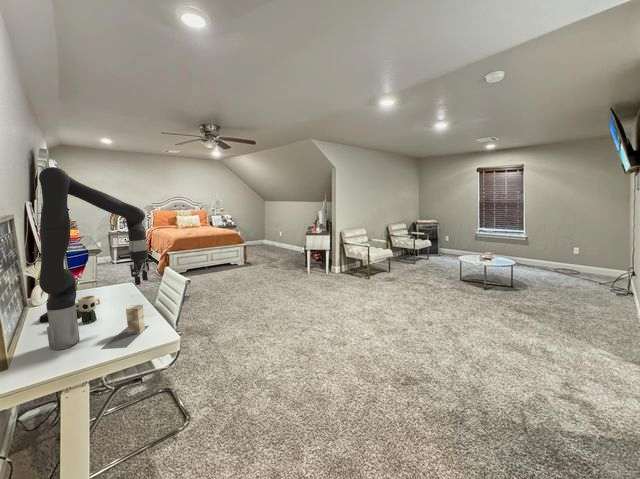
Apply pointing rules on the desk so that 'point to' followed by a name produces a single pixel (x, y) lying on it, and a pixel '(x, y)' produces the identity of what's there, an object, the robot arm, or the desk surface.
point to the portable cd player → (45, 316)
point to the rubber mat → (122, 340)
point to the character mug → (87, 308)
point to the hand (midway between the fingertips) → (141, 282)
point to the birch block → (135, 319)
